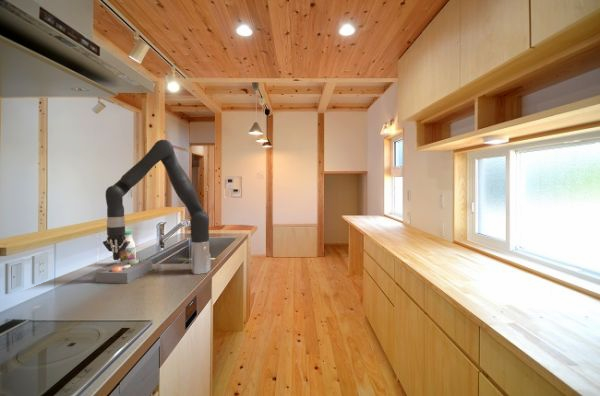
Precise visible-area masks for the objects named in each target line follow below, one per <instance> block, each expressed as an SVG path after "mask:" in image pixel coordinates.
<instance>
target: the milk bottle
mask: <svg viewBox="0 0 600 396" xmlns="http://www.w3.org/2000/svg"><path fill="white" fill-rule="evenodd" d="M124 236H125V240H127V241H130V243H129V245H128V246H127V247H126V248H125V250H124V251H121V252H120V259H119V260H120V261H119V262H122V261H124V260H131V259H137V257H136V256H137V254H136V249H137V248H136V243H135V241H134V239H133V231H131V230H128V231H126V230H125V235H124ZM122 245H123V243H122Z"/></svg>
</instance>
